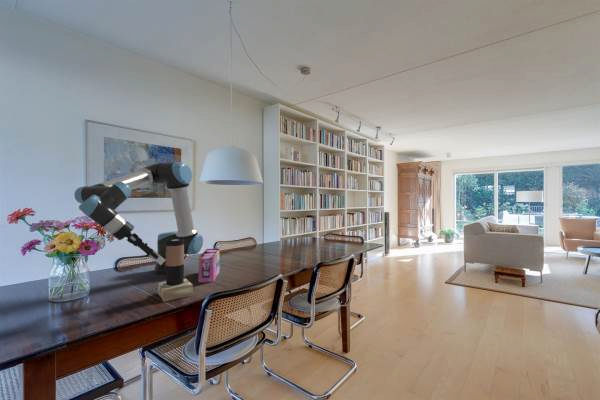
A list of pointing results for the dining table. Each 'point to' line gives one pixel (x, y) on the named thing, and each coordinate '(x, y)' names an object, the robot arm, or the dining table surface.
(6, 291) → the dining table surface
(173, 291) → the pedestal
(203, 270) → the gum box
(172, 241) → the travel mug
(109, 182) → the robot arm
